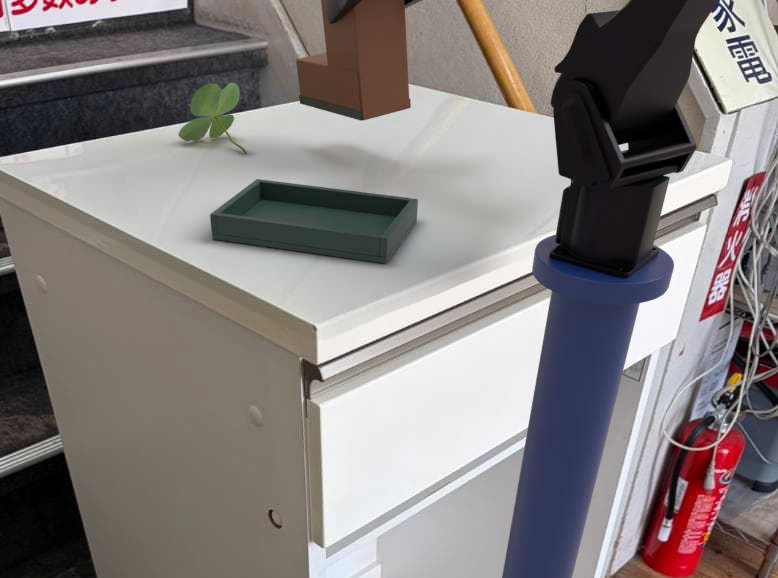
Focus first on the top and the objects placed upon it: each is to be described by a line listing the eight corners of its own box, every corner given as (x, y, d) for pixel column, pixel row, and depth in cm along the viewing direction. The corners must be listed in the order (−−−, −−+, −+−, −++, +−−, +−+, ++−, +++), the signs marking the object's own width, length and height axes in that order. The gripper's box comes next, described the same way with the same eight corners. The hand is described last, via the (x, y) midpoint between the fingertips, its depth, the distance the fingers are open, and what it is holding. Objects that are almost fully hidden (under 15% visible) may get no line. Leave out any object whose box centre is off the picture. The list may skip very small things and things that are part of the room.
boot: (411, 107, 79) (402, -73, 71) (361, 121, 77) (346, -65, 68) (347, 92, 87) (331, -74, 78) (299, 103, 85) (278, -66, 76)
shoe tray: (416, 222, 72) (418, 198, 70) (386, 264, 64) (387, 238, 63) (258, 202, 75) (256, 178, 73) (212, 239, 67) (209, 214, 66)
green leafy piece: (227, 196, 90) (194, 151, 91) (283, 146, 89) (249, 100, 89) (200, 169, 83) (163, 120, 84) (260, 113, 82) (222, 64, 82)
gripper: (489, -228, 67) (398, -68, 80) (294, -246, 58) (228, -62, 71) (546, -99, 67) (445, 39, 81) (360, -97, 58) (283, 57, 72)
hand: (355, 16), depth 76 cm, fingers closed on boot, 5 cm apart
